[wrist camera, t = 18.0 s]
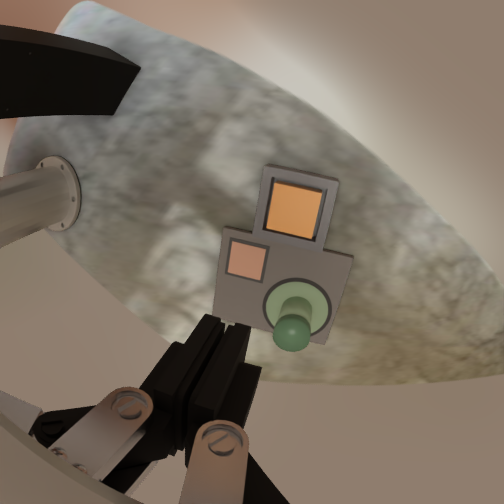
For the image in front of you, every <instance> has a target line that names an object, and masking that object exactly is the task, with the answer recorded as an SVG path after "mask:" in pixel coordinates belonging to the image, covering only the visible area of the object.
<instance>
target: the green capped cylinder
mask: <svg viewBox="0 0 504 504" xmlns="http://www.w3.org/2000/svg"><path fill="white" fill-rule="evenodd" d="M311 319H312V306H311V304H310V302H309V301H308V300H306V299H305V298H303V297H299V296H294V297H290V298H288V299H286V300H285V301H284V302H283V304H282V307H281V310H280V314H279V317H278V321H277V322H276V324H275V328H274V331H273V340H274V342H275V344H276V345H277V346H278V347H279V348H281V349H283V350H285V351H290V352H295V351H300V350H302V349H304V348H305V347H306V346H307V345H308V343H309V341H310V335H311Z"/></svg>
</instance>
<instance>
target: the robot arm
mask: <svg viewBox="0 0 504 504" xmlns="http://www.w3.org/2000/svg"><path fill="white" fill-rule="evenodd" d="M80 199H81V196H80V187H79V182H78V179H77V176H76V174H75V172H74V170H73V168H72V167H71V165H70V164H69V163H68V162H67V161H66V160H65V159H63V158H62V157H59V156H50V157H46V158H44V159H42V160H41V161H40V162H39V163H38V165H37V166H36V168H35V169H33V170H28V171H24V172H20V173H16V174H12V175H8V176H4V177H0V248H1V247H4V246H6V245H8V244H10V243H12V242H14V241H16V240H19V239H21V238H23V237H25V236H28V235H30V234H32V233H34V232H37V231H39V230H41V229H44V228H46V227H47V228H49V229H51V230H53V231H63V230H65V229H68V228H69V227H71V226H72V224H73V223H74V222H75V220H76V218H77V216H78V213H79V209H80ZM224 331H225V323H222V322H221V318H219V317H216V316H212V315H209V314H205V315H204V316H203V317H202V319H201V320H200V322H199V323H198V325H197V326H196V328H195V329H194V330H193V332H192V333H191V335H190V336H189V338H188V339H187V341H186V342H185V343H184V344H182V343H179V342H176V341H175V342H173V343H172V344H171V346H170V347H169V348H168V350H167V351H166V352H165V354H164V355H163V356H162V358H161V359H160V360H159V362H158V363H157V364H156V366H155V367H154V369H153V370H152V371H151V373H150V374H149V375H148V377H147V378H146V379H145V381H144V382H143V383H142V385H141V386H140V388H139V389H138V388H134V387H122V388H118V389H115V390H114V391H112V392H111V393H110V394H108V395H107V396H106V397H105V398H104V399H103V400H102V401H101V402H100V403H98V404H97V405H95V406H89V407H81V408H74V409H66V410H57V411H50V412H46V413H45V412H43V411H42V409H41V408H39V407H36V406H34V405H32V404H30V403H27V402H25V401H22V400H20V399H18V398H16V397H14V396H12V395H10V394H8V393H5V392H3V391H0V504H143V503H141V502H139V501H137V500H134V499H132V498H130V496H131V495H132V494H133V492H134V491H135V490H136V489H137V488H138V487H139V485H140V484H141V483H142V481H144V479H145V478H146V477H147V475H148V474H149V473H150V472H151V471H152V470H153V468H154V467H155V466H156V464H157V463H158V460H160V459H164V458H167V456H168V454H169V455H172V456H175V454H176V452H177V450H181V451H183V449H184V448H185V465H186V467H187V473H186V476H185V481H184V484H183V488H182V492H181V496H180V500H179V504H290V503H289V502H288V501H287V500H286V499H285V497H284V496H283V495H282V494H281V493H280V491H279V490H278V489H277V488H276V487H275V485H274V484H273V483H272V482H271V480H270V479H269V478H268V477H267V475H266V474H265V473H264V472H263V470H262V469H261V468H260V466H259V465H258V464H257V462H256V461H255V460H254V459H253V457H252V456H251V455H250V453H249V452H248V450H249V439H248V436H247V434H246V432H245V431H244V430H243V429H244V426H245V422H246V420H247V417H248V413H249V410H250V407H251V404H252V401H253V398H254V394H255V391H256V388H257V384H258V381H259V377H260V373H261V369H262V367H259V366H255V365H252V364H248V363H244V361H245V356H246V351H247V346H248V341H249V337H250V332H251V326H248V325H244V324H241V323H237V322H236V323H235V325H234V326H233V325H229V326H228V327H227V329H226V331H225V333H224Z"/></svg>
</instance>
